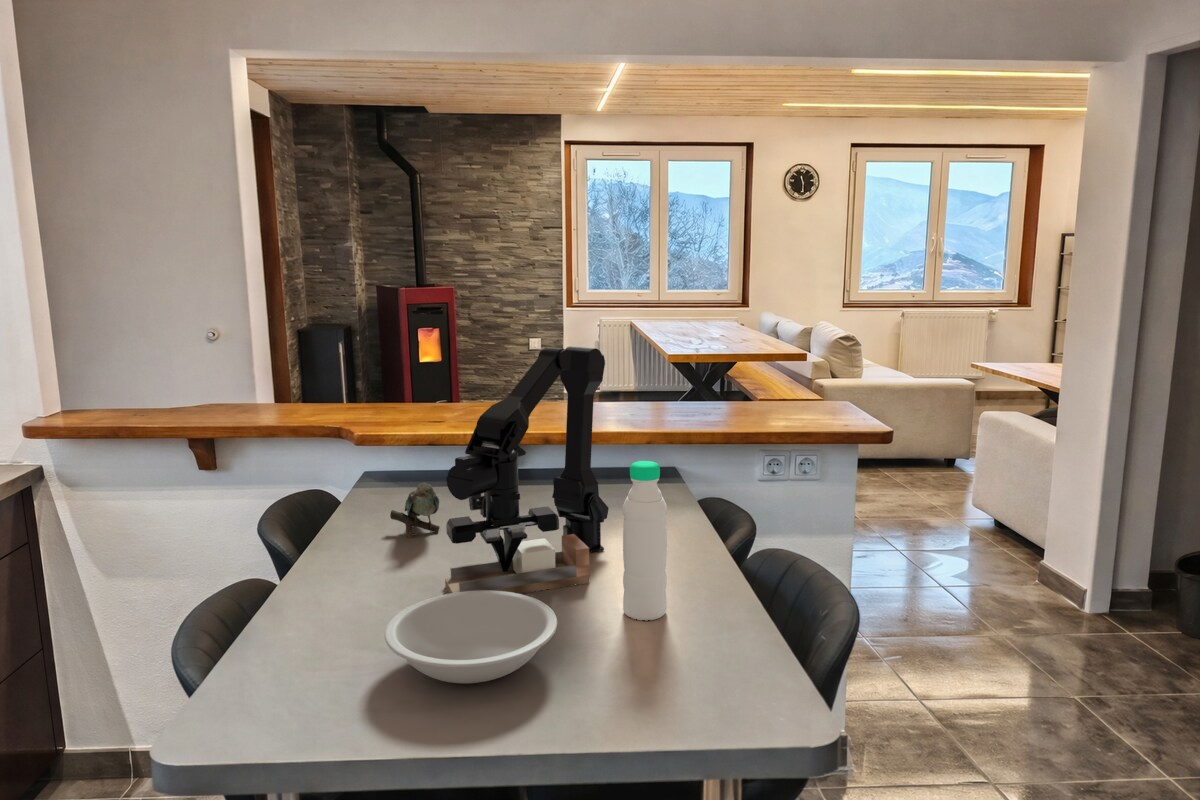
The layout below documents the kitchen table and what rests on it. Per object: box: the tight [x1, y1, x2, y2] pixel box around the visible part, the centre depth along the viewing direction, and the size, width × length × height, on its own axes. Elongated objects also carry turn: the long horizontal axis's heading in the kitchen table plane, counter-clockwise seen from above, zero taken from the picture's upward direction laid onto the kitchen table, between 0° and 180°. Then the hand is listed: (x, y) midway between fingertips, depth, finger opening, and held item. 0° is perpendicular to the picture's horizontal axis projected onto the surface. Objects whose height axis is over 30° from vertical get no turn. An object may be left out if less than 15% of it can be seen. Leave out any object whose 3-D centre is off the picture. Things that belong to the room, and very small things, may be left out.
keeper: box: [513, 538, 556, 574], centre depth 151 cm, size 6×6×5 cm
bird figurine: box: [389, 482, 441, 539], centre depth 177 cm, size 13×10×20 cm
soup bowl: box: [384, 590, 558, 684], centre depth 121 cm, size 24×24×7 cm
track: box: [444, 534, 591, 595], centre depth 150 cm, size 24×8×6 cm, turn 111°
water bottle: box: [622, 460, 668, 622], centre depth 136 cm, size 7×7×25 cm
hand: (504, 571), depth 149 cm, fingers closed
